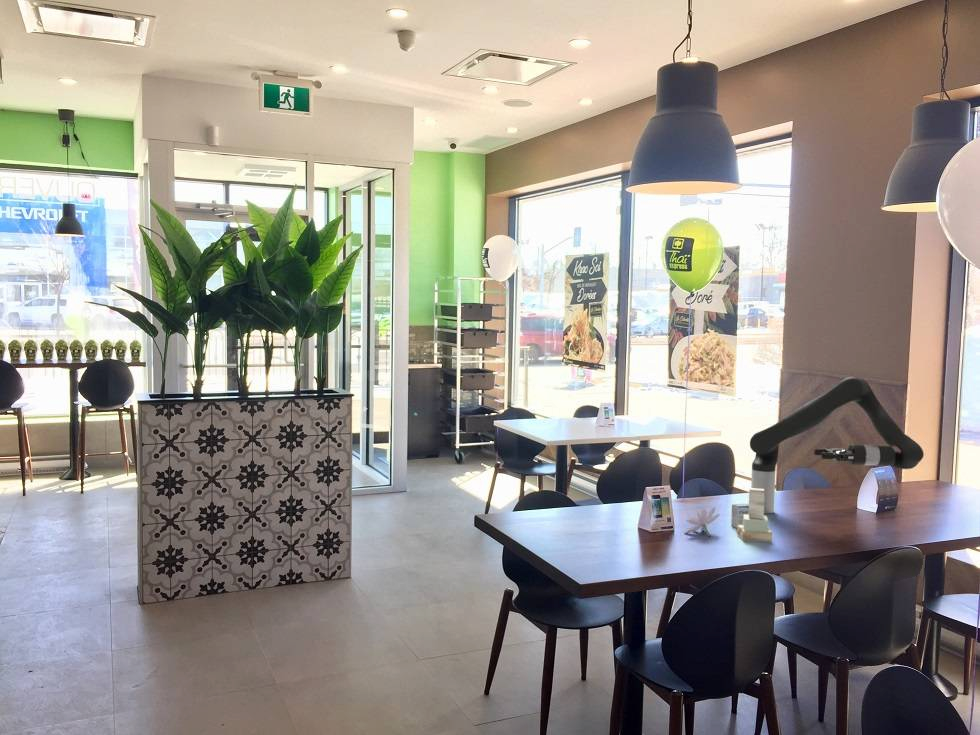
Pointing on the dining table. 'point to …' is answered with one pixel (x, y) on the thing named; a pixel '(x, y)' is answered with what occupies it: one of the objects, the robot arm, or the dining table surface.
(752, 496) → the tall white block
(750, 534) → the tower base block
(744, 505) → the medicine box
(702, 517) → the water lily
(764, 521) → the tower top block
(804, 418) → the robot arm
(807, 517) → the dining table surface
